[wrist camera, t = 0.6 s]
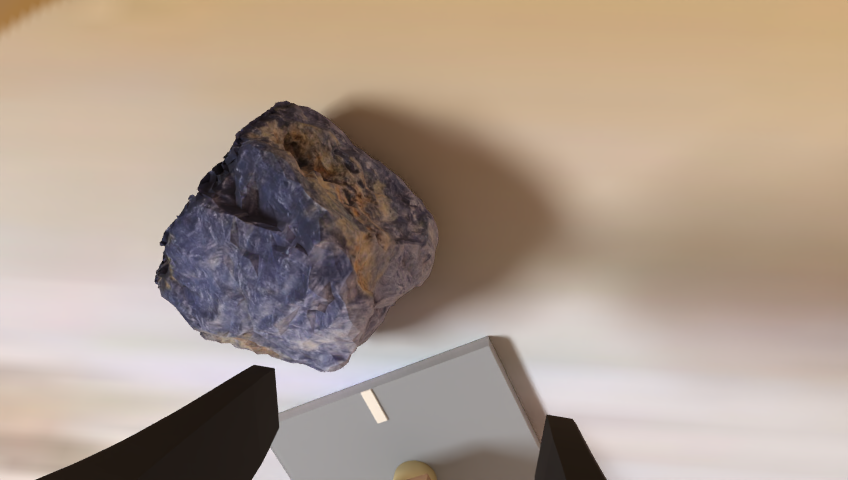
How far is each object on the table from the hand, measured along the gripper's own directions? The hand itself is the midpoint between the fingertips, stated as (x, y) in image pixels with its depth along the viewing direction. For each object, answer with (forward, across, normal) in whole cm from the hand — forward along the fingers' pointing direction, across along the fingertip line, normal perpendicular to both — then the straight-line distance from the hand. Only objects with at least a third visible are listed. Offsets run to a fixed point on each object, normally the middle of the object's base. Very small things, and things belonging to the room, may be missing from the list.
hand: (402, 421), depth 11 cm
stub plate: (+10, +1, +12) cm, 16 cm away
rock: (+11, +6, 0) cm, 13 cm away
